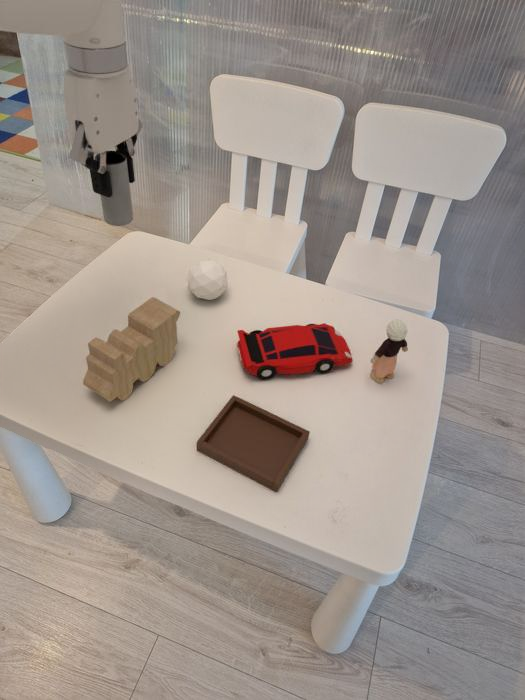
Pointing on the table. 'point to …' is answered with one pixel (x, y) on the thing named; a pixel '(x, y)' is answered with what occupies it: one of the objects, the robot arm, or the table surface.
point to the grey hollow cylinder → (117, 191)
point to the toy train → (132, 350)
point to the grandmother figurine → (389, 351)
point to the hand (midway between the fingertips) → (114, 185)
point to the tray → (253, 442)
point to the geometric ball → (207, 279)
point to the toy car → (292, 350)
